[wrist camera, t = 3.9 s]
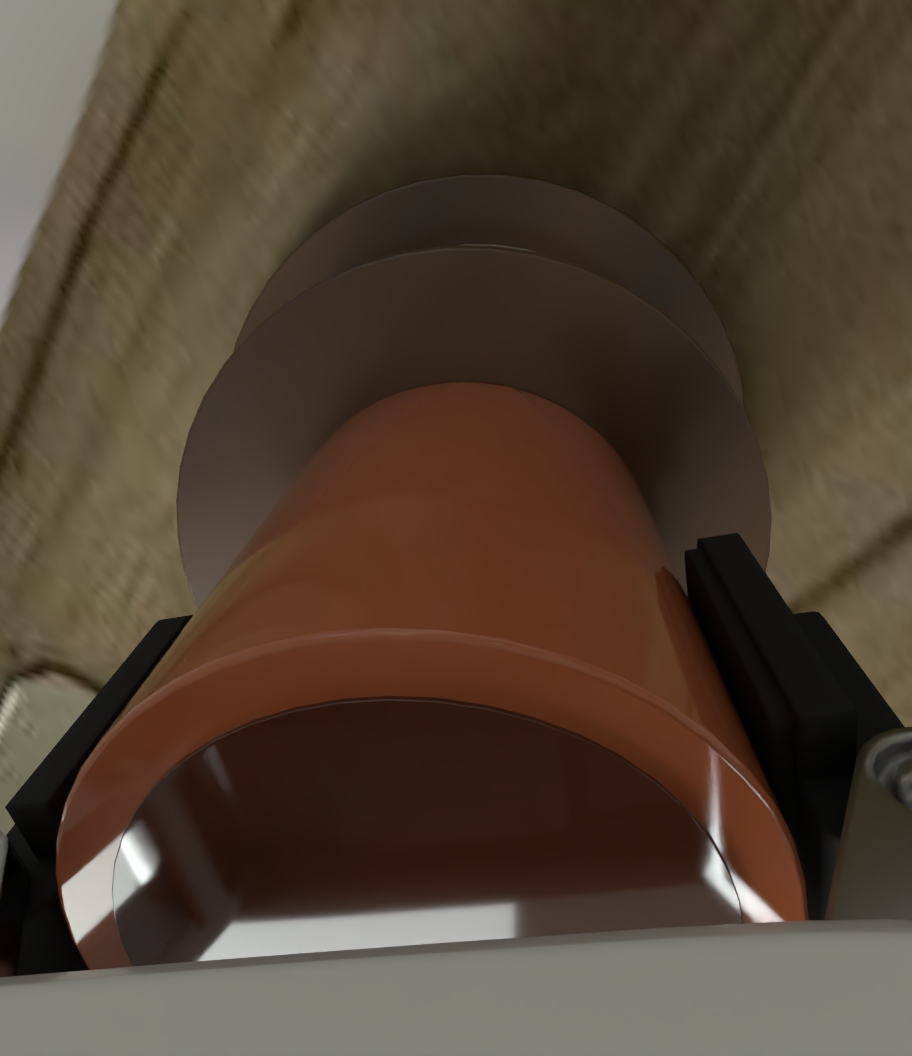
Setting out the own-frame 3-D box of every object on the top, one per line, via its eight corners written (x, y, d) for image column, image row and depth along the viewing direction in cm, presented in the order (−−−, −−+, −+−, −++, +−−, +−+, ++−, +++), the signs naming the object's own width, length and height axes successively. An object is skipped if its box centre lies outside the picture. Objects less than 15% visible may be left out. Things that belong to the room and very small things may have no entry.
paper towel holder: (146, 461, 21) (-6, 575, 15) (456, 33, 16) (423, -67, 10) (494, 723, 25) (489, 907, 18) (841, 433, 20) (999, 547, 13)
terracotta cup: (216, 569, 15) (-73, 942, 7) (448, 292, 12) (353, 446, 5) (479, 761, 16) (455, 1220, 9) (731, 554, 14) (983, 963, 6)
